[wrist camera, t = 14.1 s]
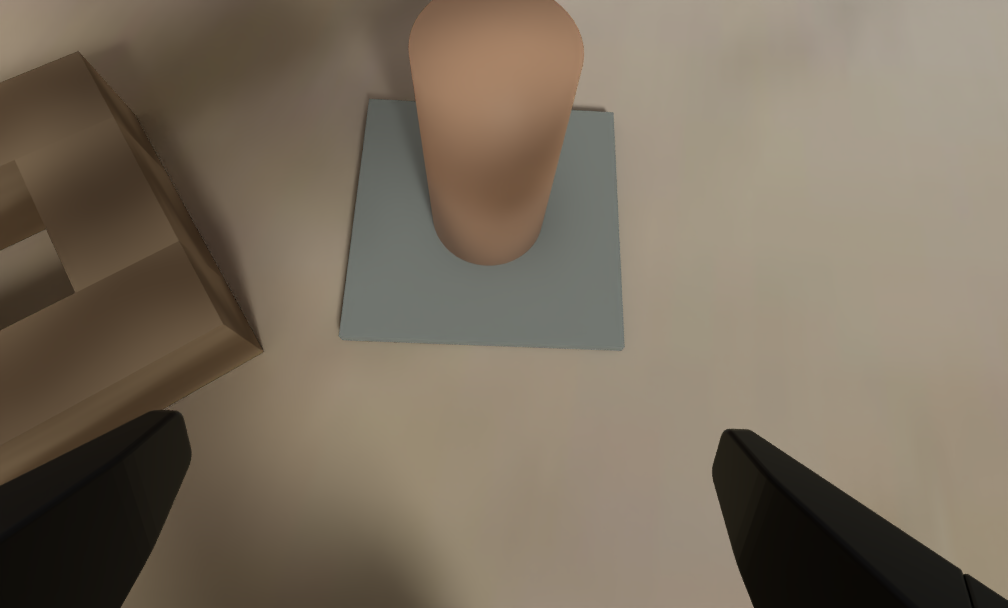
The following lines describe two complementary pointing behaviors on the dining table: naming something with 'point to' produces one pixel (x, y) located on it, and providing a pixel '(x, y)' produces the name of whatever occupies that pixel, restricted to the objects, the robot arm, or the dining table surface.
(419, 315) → the pad
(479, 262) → the peg
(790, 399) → the dining table surface
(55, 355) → the pocket block
